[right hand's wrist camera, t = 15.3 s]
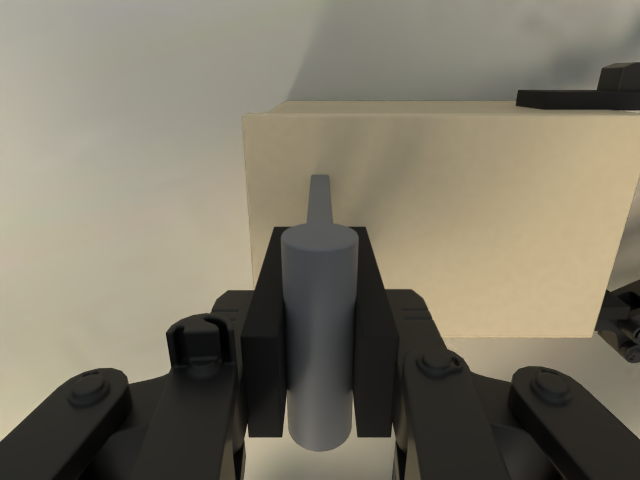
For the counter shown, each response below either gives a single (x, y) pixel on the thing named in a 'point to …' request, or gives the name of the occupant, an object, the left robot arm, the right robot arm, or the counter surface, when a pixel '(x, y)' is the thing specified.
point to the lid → (434, 229)
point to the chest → (415, 107)
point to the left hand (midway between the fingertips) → (510, 209)
